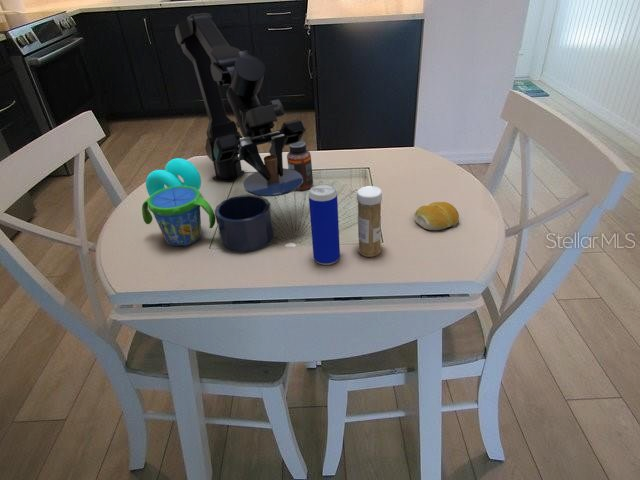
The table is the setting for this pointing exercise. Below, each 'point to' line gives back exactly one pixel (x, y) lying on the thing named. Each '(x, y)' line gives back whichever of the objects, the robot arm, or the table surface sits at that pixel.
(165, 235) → the snack cup
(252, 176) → the lid
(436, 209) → the bread roll
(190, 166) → the donuts
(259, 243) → the navy blue pot
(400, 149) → the table surface
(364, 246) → the spice jar
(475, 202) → the table surface
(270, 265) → the table surface
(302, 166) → the supplement bottle
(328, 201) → the beverage can
